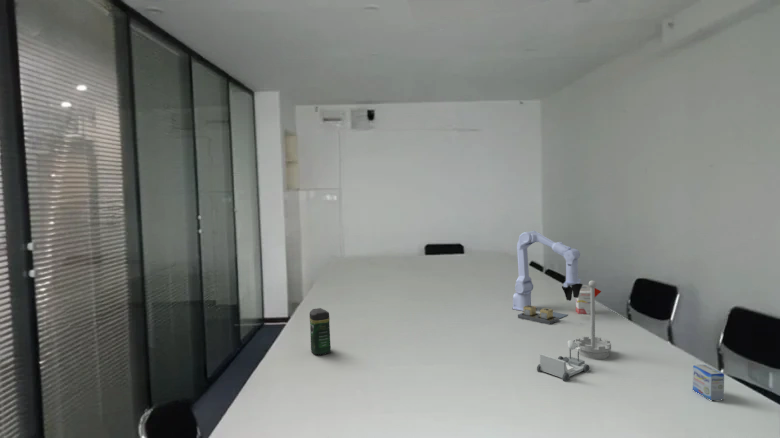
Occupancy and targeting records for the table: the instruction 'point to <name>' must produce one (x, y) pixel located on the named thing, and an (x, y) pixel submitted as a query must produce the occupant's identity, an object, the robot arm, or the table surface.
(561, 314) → the slate mat
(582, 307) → the ink cartridge box
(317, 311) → the coffee jar
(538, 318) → the grey flat rectangular frame
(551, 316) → the gold knob block
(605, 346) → the flag stand
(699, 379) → the medicine box
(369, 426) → the table surface
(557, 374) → the toy car
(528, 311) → the gold drawer
